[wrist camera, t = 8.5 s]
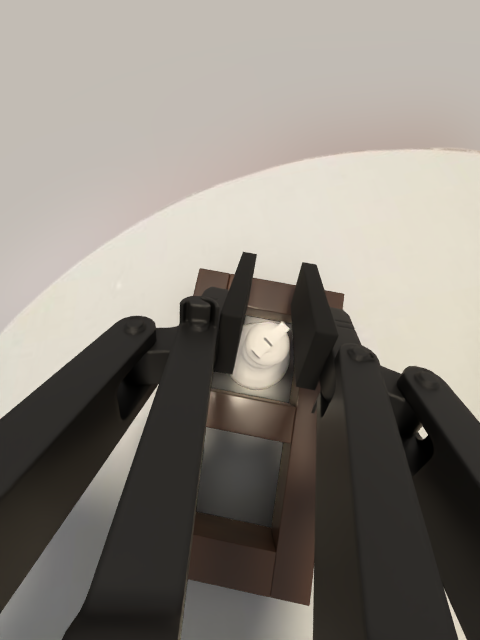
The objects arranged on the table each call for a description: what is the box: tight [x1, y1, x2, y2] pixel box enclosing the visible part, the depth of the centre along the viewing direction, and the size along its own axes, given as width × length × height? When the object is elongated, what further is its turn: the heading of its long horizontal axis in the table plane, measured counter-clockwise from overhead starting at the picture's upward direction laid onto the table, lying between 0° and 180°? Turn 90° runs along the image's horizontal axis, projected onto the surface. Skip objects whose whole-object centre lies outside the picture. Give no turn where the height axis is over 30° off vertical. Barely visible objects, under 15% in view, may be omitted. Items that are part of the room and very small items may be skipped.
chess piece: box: [229, 322, 290, 390], centre depth 15 cm, size 5×5×10 cm
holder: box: [188, 269, 344, 606], centre depth 18 cm, size 10×18×2 cm, turn 169°
